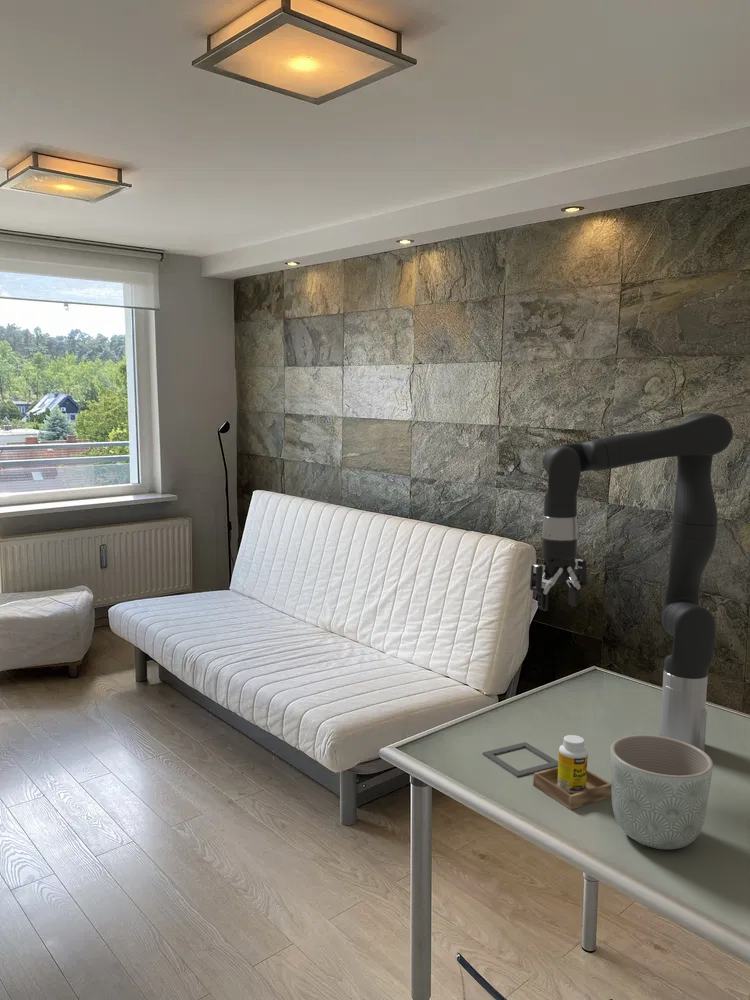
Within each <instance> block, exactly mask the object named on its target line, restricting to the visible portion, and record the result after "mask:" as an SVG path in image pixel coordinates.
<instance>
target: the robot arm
mask: <svg viewBox="0 0 750 1000" xmlns="http://www.w3.org/2000/svg"><path fill="white" fill-rule="evenodd" d="M733 435H734V433H733V428H732V425H731V423H730V422H729V420H727V419H726V418H725V417H724V416H723V415H720V414H716V413H713V412H696V413H695V412H694V413H691V414H689V415H687V416H686V417H684V418H683V420H681V422H680V424H679V425H674V426H671V427H667V428H662V429H656V430H648V431H647V430H646V431H638V432H637V431H636V432H627V433H621V434H615V435H610V436H606V437H600V438H596V439H595V438H594V439H592V440H588V441H581V442H580V441H579V442H575V443H574V442H573V443H566V444H560V445H559V444H558V445H555V446H552V447H550V448H549V449H548V450H547V451H545V452H544V455H543V458H542V466H543V469H544V471H545V472H546V473H547V475H548V477H547V479H548V483H547V490H546V492H545V494H544V499H543V501H544V504H543V506H544V507H543V521H542V534H541V535H542V538H541V539H542V541H541V542H542V544H541V545H542V546H541V548H542V549H541V555H542V557H543V562H542V564H536V563H532V565H531V566H530V567H531V569H530V585H529V589H530V591H533V592H536V593H537V607H538V609H539V610H541V611H543V612H546V611H548V608H549V606H548V605H549V594H548V593H549V591H550V589H551V588H552V587H554V586H555V584H556V583H560V582H566V583H567V585H568V586H569V588H568V597H567V600H568V601H567V603H568V605H569V606H572V607H576V606H578V603H579V598H580V597H579V596H580V595H579V594H580V591H579V590H580V589H581V588H582V587H585V586H587V584H588V583H587V579H588V578H587V577H588V575H587V561H586V560H585V559H580V558H577V555H578V520H577V518H578V517H577V515H578V514H577V511H578V506H577V505H578V500H577V498H578V497H577V494H578V491H579V485H580V479H581V473H582V472H587V471H593V472H594V471H595V472H596V471H598V472H599V471H600V472H601V471H606V470H611V469H617V468H622V467H626V466H630V465H637V464H640V463H644V462H650V461H655V460H659V459H664V458H665V459H666V458H671V457H672V458H673V457H676V458H677V460H676V461H677V462H676V463H677V464H676V465H677V469H676V470H677V471H676V472H677V473H676V474H677V476H676V484H675V486H676V487H675V493H674V505H673V513H672V523H671V526H672V527H671V537H670V540H671V541H670V552H669V553H670V555H669V566H668V577H667V578H668V579H667V584H666V589H665V595H664V598H663V599H664V600H663V604H662V611H661V623H662V626H663V629H664V630H665V632H666V633H667V634H668V635H670V636H671V637H672V638H673V641H672V642H673V644H672V652H671V654H669V655H667V656H666V657H665V658H664V662H663V674H662V676H663V677H662V694H661V695H662V696H661V697H662V698H661V709H660V726H659V727H660V728H659V736H663V737H668V738H673V739H676V740H680V741H683V742H686V743H688V744H691V745H693V746H695V747H697V748H699V749H700V750H702V751H704V752H705V749H706V748H705V747H706V731H707V717H708V711H707V709H706V706H707V705H706V704H707V689H708V688H707V687H708V675H709V668H710V667H711V666H712V663H713V659H714V652H715V651H714V650H715V642H716V634H717V630H716V629H717V625H716V620H715V617H714V615H713V614H712V612H711V611H710V610H709V609H707V608H706V607H704V606H702V605H700V585H701V579H702V575H703V572H704V570H705V568H706V566H707V565H708V563H709V561H710V559H711V556H712V554H713V553H714V550H715V546H716V541H717V534H718V533H717V531H718V523H719V521H718V519H719V518H718V517H719V516H718V508H717V504H716V498H715V495H714V494H715V493H714V489H713V485H712V475H711V474H712V465H713V459H714V458H713V457H714V455H718V454H720V453H722V452H723V451H724V450H726V449H727V448H728V446H729V445H730V444H731V442H732V440H733Z"/></svg>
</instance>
